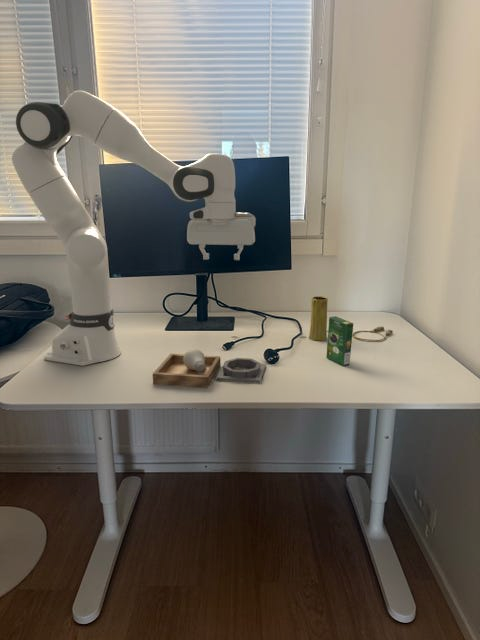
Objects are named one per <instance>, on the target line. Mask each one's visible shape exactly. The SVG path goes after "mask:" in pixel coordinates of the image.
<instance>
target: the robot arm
mask: <svg viewBox="0 0 480 640" xmlns="http://www.w3.org/2000/svg"><path fill="white" fill-rule="evenodd" d="M15 126H16V130H17V132H18V134H19V136H20V137H21V139H22V140H23V141H24V143H23V144H21V145H19V146H18V147H16V148H15V149H14V151H13V153H12V155H11V161H12V162H11V163H12V164H13V167H14V170H15V171H16V174H17V176H18V178H19V180H20V182H21V184H22V185H23V187H24V189H25V190H26V192H27V194H28V195H29V197H30V198H31V200H32V201H33V203H34V204H35V206H36V208H37V209H38V210H39V213H40V214H41V215H42V217H43V218H44V220H45V222H46V223H47V224H48V225H49V226H50V228H51V229H52V230H53V232H54V233H55V235H56V236H57V238H58V240H60V242H61V243H62V245H63V246H64V248H65V253H66V254H65V255H66V263H67V264H66V265H67V269H68V270H67V272H68V278H69V284H70V292H71V303H72V311H71V312H70V313H69V314H68V315H66V316H65V317H66V318H65V320H69V324H67V325H66V326H65V327H64V328H63V329H61V330H60V331H59V332H58V333H57V334H56V335H55V336H54V337H53V338H52V344H51V349H50V350H48V351H47V352H46V354H44V359H45V360H46V361H49V362H50V361H51V362H55V363H56V362H57V363H62V364H63V363H64V364H69V365H74V366H75V365H76V366H82V367H83V366H88V365H92V364H95V363H101V362H106V361H109V360H114V359H115V358H117V357H119V356H120V355H121V353H122V351H121V347H120V346H119V343H118V339H117V336H116V332H115V315H114V309H113V308H112V299H111V285H110V271H109V255H108V246H107V245H108V244H107V243H106V240H105V239H104V237H103V235H102V233H101V232H100V231H99V229H98V226H97V225H96V224H95V222H94V220H93V219H92V216H91V215H90V214H89V212H88V211H87V209H86V206H84V204H83V202H82V200H81V199H80V197H79V195H78V194H77V192H76V190H75V189H74V187H73V185H72V184H71V182H70V181H69V179H68V177H67V176H66V173H65V172H64V170H62V168H61V166H60V164H59V162H58V160H57V155H58V154H60V152H61V151H62V150H63V149H64V148H65V147H66V146H67V145H68V144H69V143H70V142H71V140H72V139H73V136H79V137H80V138H83V139H85V140H86V141H87V142H90V143H91V144H92V145H94V146H96V147H97V148H98V149H100V150H102V151H103V152H105V153H107V154H109V155H111V156H114V157H115V158H118V159H121V160H123V161H126V162H130V163H133V164H134V165H137V166H138V167H139V166H140V167H141V168H143V169H145V170H146V171H147V172H149V173H150V174H152V175H153V176H155V177H157V178H158V179H160V180H161V181H162V182H163V183H165V184H166V185H167V186H168V188H169V189H170V191H171V192H172V194H173V195H174V197H175V198H176V199H178V200H180V201H182V202H184V203H185V202H186V203H191V202H195V201H197V200H199V199H204V203H205V206H204V207H200V208H198V209H196V210H192V211H191V212H189V218H190V220H189V221H188V224H187V228H186V240H187V243H188V244H189V245H198V248H199V250H200V252H201V254H202V259H203V260H209V259H210V253H209V252H206V250H205V248H206V245H210V246H211V245H214V246H217V245H218V246H219V245H220V246H225V245H226V246H237V249H238V251H237V253H234V254H233V260H234V261H240V258H241V257H240V255H241V253H242V251H243V249H244V246H252V245H253V244H254V243H255V242H256V235H255V234H256V233H255V227H256V225H257V224H256V221H257V218H256V216H255V215H254V214H251V212H236V208H237V207H236V206H237V205H236V201H237V200H236V197H235V190H236V171H235V169H236V168H235V165H234V161H233V159H232V158H231V157H230V156H228V155H226V154H222V153H217V152H216V153H215V152H209V153H206V155H205V156H204V157H202V158H200V159H198V160H197V161H195V162H193V163H190V164H188V165H185V166H182V165H179V164H177V163H175V162H173V160H171V159H169V158H168V157H167V156H165V155H164V154H162V153H161V152H160V151H158V150H157V149H156V148H154V147H153V146H152V145H151V144H150V143H149V142H148V141H147V139H146V138H145V136H144V135H143V134H142V132H141V130H140V129H139V127H138V126H137V125H136V124H135V123H134V122H133V121H132V120H131V119H129V117H128V116H126V115H125V114H124V113H123V112H121V111H120V110H119V109H117V108H115V107H114V106H112V105H111V104H110V103H108V102H106V101H105V100H103V99H101V98H99V97H98V96H95V95H93V94H91V93H89V92H87V91H85V90H75V91H73V92H72V93H70V94H69V95H68V96H67V98H66V99H65V100H64V103H62V105H60V104H59V103H49V102H42V101H41V102H40V101H34V102H29V103H27V104H25V105H22V106H21V108H20V109H19V111H18V112H17V114H16V116H15Z"/></svg>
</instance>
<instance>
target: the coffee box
mask: <svg viewBox="0 0 480 640" xmlns="http://www.w3.org/2000/svg"><path fill="white" fill-rule="evenodd" d="M327 330H328V331H327V344H326V345H327V346H326V347H327V348H326V358H327V359H328V360H330V361H333V362H334V363H336V364H338V365H340V366H342V367H346V366H349V365H350V364H351V362H350V361H351V354H352V343H353V333H354V322H351V321H349V320H346V319H344V318H341V317H339V316H329V317H328V327H327Z"/></svg>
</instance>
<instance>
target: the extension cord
mask: <svg viewBox="0 0 480 640" xmlns="http://www.w3.org/2000/svg"><path fill="white" fill-rule="evenodd" d="M384 330H385V327H384V326H377V327H375V328H373V330H358V331H355V332H353V334H352V338H354V339H355V340H357V341H360V342H368V343H379V342H384V341H387V340H386V338H387V337H389V336H391V335H392V333H394V332H393V330H391V329H387V331H386V332H385V335H384V334H382V333H379V332H383V331H384ZM362 332H363V333H364V332H365V333H372V334H373V333H374V334H378V335H379V336H382V338H381V339H368V338H359V337H357V336H355V335H356V334H359V333H362Z"/></svg>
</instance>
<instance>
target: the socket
mask: <svg viewBox="0 0 480 640" xmlns="http://www.w3.org/2000/svg"><path fill="white" fill-rule="evenodd" d="M266 366H267V365H266V363H261V362H260V361H257V360H255V359H254V358H249V357H248V358H247V357H246V358H245V357H236V358H232V359H228V360H226V361H224V363H223V364H222V367H220V368H221V369H219V372H218V374H216V376H215V377H216V379H215V380H216V381H218V380H220V381H219V382H221V381H223V382H233V383H234V382H235V383H248V384H249V383H250V384H261V382H262V380H263V376H264V372H265V370H266ZM237 367H238V368H249V369H246V370H238V369H237Z"/></svg>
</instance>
